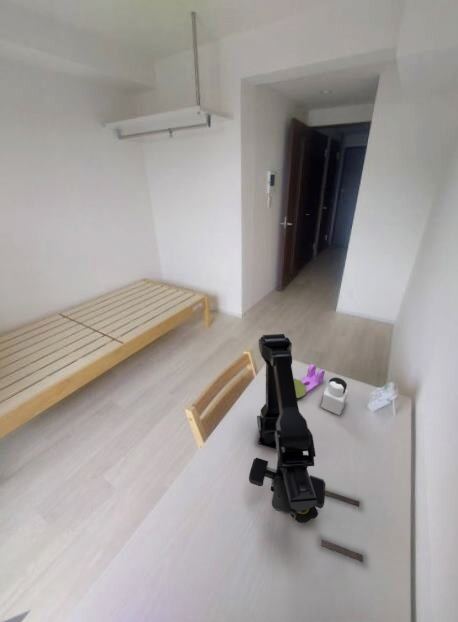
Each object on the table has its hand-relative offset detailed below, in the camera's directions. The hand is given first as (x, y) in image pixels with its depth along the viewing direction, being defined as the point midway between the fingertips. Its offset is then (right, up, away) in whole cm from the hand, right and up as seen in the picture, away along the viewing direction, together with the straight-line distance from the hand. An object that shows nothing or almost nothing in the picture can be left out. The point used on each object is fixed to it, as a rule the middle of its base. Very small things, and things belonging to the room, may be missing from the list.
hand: (283, 498), depth 73 cm
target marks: (+14, -3, -4) cm, 14 cm away
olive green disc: (+11, +19, +36) cm, 43 cm away
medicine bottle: (+25, +15, +30) cm, 42 cm away
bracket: (+18, +20, +40) cm, 48 cm away
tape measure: (+5, -2, -1) cm, 5 cm away
